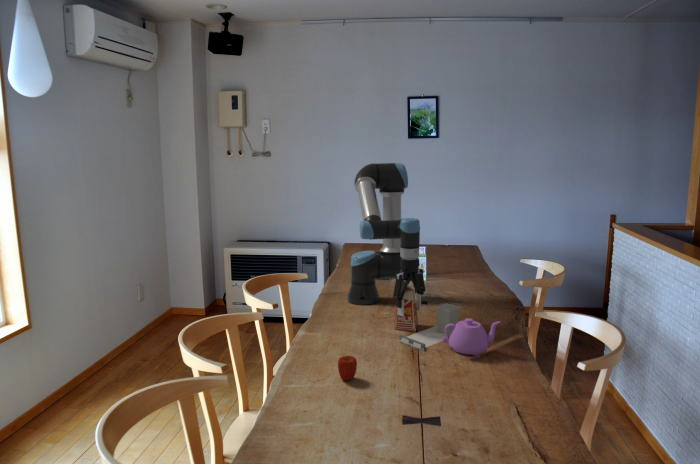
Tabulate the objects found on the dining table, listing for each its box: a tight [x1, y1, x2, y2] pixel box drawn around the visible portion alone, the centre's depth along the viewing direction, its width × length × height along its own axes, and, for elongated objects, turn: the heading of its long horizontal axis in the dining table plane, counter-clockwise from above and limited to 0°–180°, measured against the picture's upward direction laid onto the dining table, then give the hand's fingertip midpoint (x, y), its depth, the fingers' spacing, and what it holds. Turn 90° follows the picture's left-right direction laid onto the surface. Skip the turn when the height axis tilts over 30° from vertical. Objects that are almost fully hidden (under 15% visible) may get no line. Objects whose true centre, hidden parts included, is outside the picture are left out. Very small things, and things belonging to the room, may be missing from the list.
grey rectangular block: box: [436, 302, 460, 335], centre depth 211 cm, size 6×6×10 cm
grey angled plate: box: [398, 325, 450, 352], centre depth 207 cm, size 12×24×3 cm, turn 131°
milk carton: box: [393, 284, 419, 332], centre depth 216 cm, size 9×9×20 cm
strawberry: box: [337, 355, 358, 382], centre depth 173 cm, size 6×6×8 cm
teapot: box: [442, 317, 501, 359], centre depth 193 cm, size 20×14×12 cm
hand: (409, 312), depth 215 cm, fingers closed on milk carton, 9 cm apart
